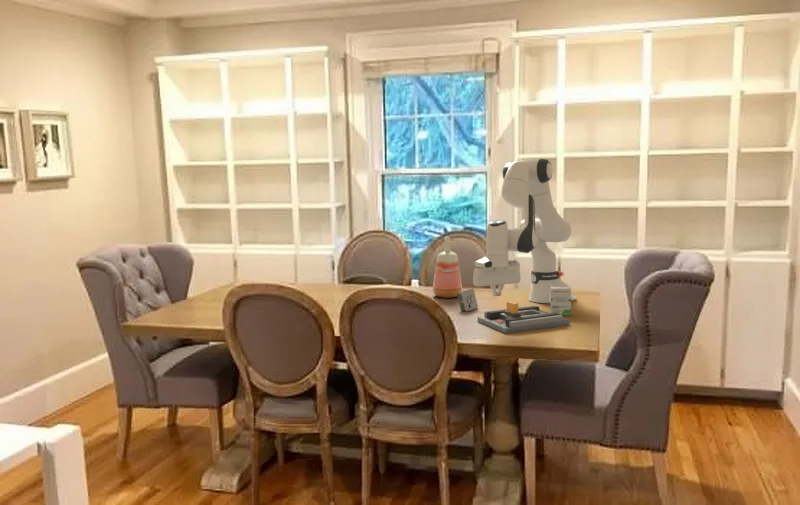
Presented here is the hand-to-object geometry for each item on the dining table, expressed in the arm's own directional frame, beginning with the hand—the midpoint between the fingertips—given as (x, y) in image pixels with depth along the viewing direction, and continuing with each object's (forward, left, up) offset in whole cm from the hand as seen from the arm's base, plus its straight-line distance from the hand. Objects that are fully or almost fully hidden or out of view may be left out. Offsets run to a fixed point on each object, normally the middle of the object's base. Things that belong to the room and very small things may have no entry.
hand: (497, 295), depth 266 cm
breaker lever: (-7, 0, -11) cm, 13 cm away
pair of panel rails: (-12, 0, -11) cm, 16 cm away
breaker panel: (-12, 0, -13) cm, 18 cm away
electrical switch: (-4, -33, -13) cm, 36 cm away
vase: (-9, -63, -13) cm, 65 cm away
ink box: (-35, -6, -13) cm, 38 cm away
